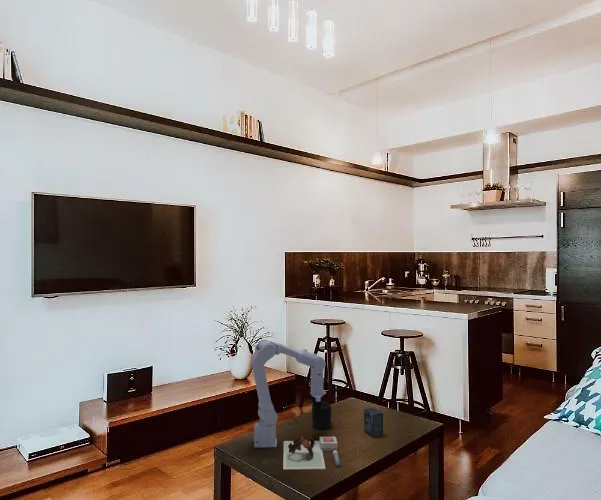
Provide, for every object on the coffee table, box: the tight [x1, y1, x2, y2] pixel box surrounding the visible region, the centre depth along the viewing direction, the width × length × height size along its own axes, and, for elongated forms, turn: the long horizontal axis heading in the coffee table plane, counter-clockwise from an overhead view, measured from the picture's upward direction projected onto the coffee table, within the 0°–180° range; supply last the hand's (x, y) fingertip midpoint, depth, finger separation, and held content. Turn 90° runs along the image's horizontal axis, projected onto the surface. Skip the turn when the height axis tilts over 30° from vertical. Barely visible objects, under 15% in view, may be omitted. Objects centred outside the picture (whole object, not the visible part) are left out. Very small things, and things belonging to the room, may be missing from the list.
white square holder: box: [319, 436, 338, 452], centre depth 189 cm, size 7×7×3 cm
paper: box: [282, 440, 326, 471], centre depth 182 cm, size 16×26×1 cm, turn 2°
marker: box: [332, 450, 341, 467], centre depth 176 cm, size 2×10×2 cm, turn 2°
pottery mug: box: [288, 436, 316, 461], centre depth 181 cm, size 12×10×8 cm
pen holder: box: [311, 401, 332, 430], centre depth 213 cm, size 9×9×10 cm
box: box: [363, 407, 384, 438], centre depth 204 cm, size 8×6×11 cm
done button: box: [324, 436, 333, 442], centre depth 189 cm, size 4×4×3 cm
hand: (317, 412), depth 201 cm, fingers closed
